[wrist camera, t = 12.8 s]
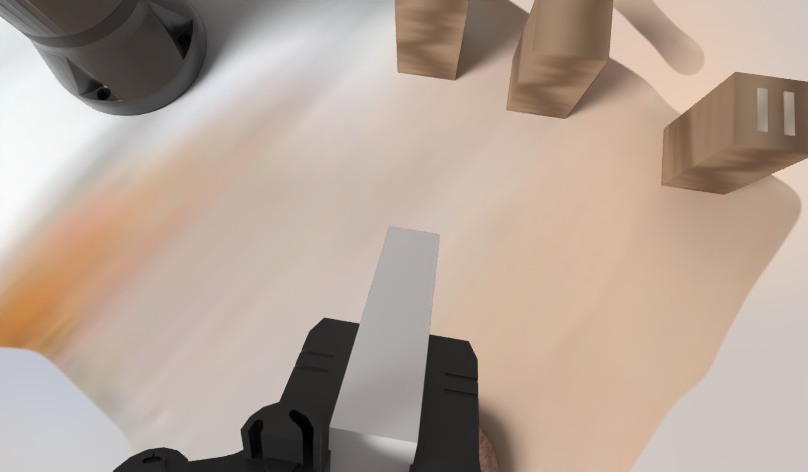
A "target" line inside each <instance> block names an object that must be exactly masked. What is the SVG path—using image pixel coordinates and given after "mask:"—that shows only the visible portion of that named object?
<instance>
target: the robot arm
mask: <svg viewBox="0 0 808 472" xmlns="http://www.w3.org/2000/svg"><path fill="white" fill-rule="evenodd" d="M0 16H1V17H2V18H3V19H5V20H6V21H7V22H9V23H10V24H11V25H13V26H14V27H15V28H17V29H18V30H19V31H21V32H22V33H23V34H24V35H26V36H27V37H28V38H29V39H30V40H31V41H32V43H33V44H34V46H35V47H36V49H37V50H38V52H39V53H40V55H41V56H42V58H43V59H44V61H45V62H46V64H47V65H48V67H49V68H50V70H51V71H52V73H53V74H54V76H55V77H56V79H57V80H58V81H59V82H60V84H61V85H62V86H63V87H64V88H65V89H66V90H67V91H69V92H70V93H71V94H73V95H74V96H75V97H77V98H78V99H79V100H81V101H82V102H84V103H85V104H87V105H88V106H90V107H92V108H93V109H96V110H98V111H101V112H104V113H107V114H112V115H123V116H127V115H138V114H143V113H147V112H150V111H153V110H156V109H158V108H161V107H163V106H165V105H166V104H168V103H170V102H171V101H173V100H174V99H176V98H177V97H178V96H180V95H181V94H182V93H183V92H184V91H185V90H186V89H187V88H188V87H189V86H190V85H191V83H192V82H193V81H194V79H195V78H196V76H197V75H198V73H199V71H200V69H201V66H202V64H203V61H204V57H205V53H206V34H205V30H204V27H203V24H202V21H201V19H200V18H199V16H198V14H197V13H196V11H195V10H194V8H193V7H192V5H191V4H190V2H189V1H188V0H0ZM439 238H440V234H434V233H428V232H422V231H416V230H410V229H404V228H397V227H391V226H389V228H388V232H387V235H386V238H385V242H384V245H383V248H382V252H381V255H380V258H379V262H378V265H377V269H376V272H375V275H374V279H373V282H372V285H371V289H370V292H369V295H368V299H367V302H366V305H365V309H364V312H363V315H362V319H361V322H360V324H358V323H352V322H347V321H341V320H335V319H329V318H323V319H322V320H321V321H320V322H319V323H318V324H317V325H316V326H315V327H314V328H313V329H311V330H310V331H309V334H308V336H307V338H306V341H305V343H304V345H303V348H302V351H301V353H300V355H299V357H298V359H297V362H296V365H295V367H294V369H293V371H292V373H291V376H290V378H289V380H288V383H287V385H286V387H285V390H284V392H283V394H282V397H281V399H280V401H279V402H278V403H275V404H272V405H268V406H265V407H263V408H261V409H260V410H259V411H257V412H256V413H254V414H253V415H252V416H250V417H249V419H248V420H247V422H246V423H245V424H244V426H243V427H242V428H241V436H242V442H243V449H244V450H242V451H240V452H238V453H235V454H232V455H228V456H224V457H217V458H210V459H203V460H196V461H189V462H188V459H187V458H186V457H185V456H184V455H182V454H181V453H180V452H179V451H177V450H173V449H169V448H165V447H163V448H155V449H148V450H145V451H143V452H141V453H139V454H136V455H134V456H132V457H130V458H129V459H127V460H126V461H125V462H124V463H122V464H121V465H120V466H119V467H117V468H116V469H115V470H114V471H113V472H481V468H480V461H479V413H478V382H477V381H478V359H477V357H476V355H475V353H474V351H473V349H472V347H471V345H470V343H469V341H464V340H459V339H453V338H447V337H441V336H435V335H429V331H430V322H431V313H432V304H433V294H434V285H435V276H436V266H437V257H438V248H439Z"/></svg>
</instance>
